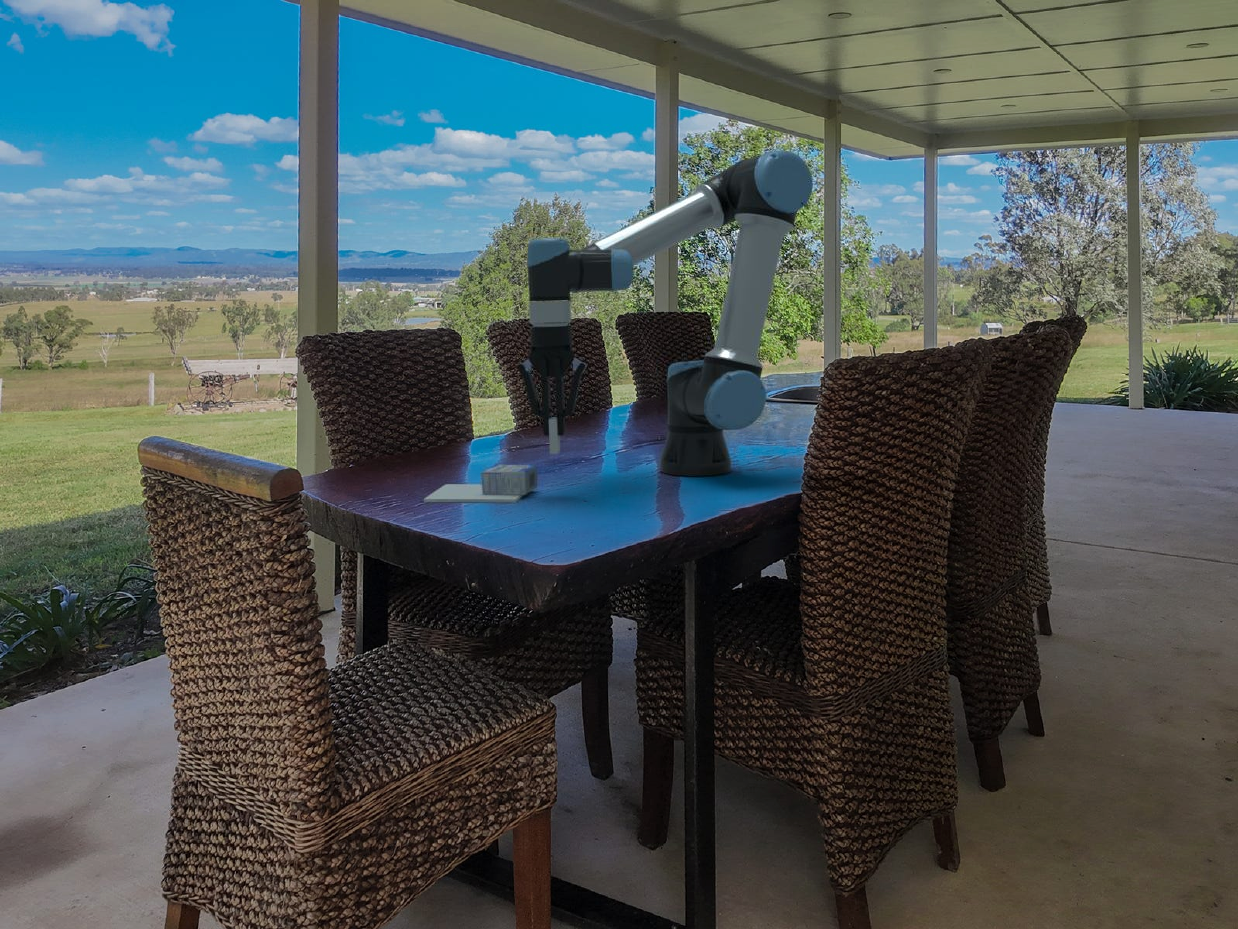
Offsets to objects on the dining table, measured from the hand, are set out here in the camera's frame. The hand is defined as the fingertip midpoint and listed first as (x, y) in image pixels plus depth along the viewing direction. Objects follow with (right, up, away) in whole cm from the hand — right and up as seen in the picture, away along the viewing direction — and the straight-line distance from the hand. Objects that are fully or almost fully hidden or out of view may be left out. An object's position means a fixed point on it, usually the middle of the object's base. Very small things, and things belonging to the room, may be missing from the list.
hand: (555, 452), depth 189 cm
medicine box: (-4, -5, +1) cm, 7 cm away
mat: (-14, -8, +2) cm, 17 cm away
